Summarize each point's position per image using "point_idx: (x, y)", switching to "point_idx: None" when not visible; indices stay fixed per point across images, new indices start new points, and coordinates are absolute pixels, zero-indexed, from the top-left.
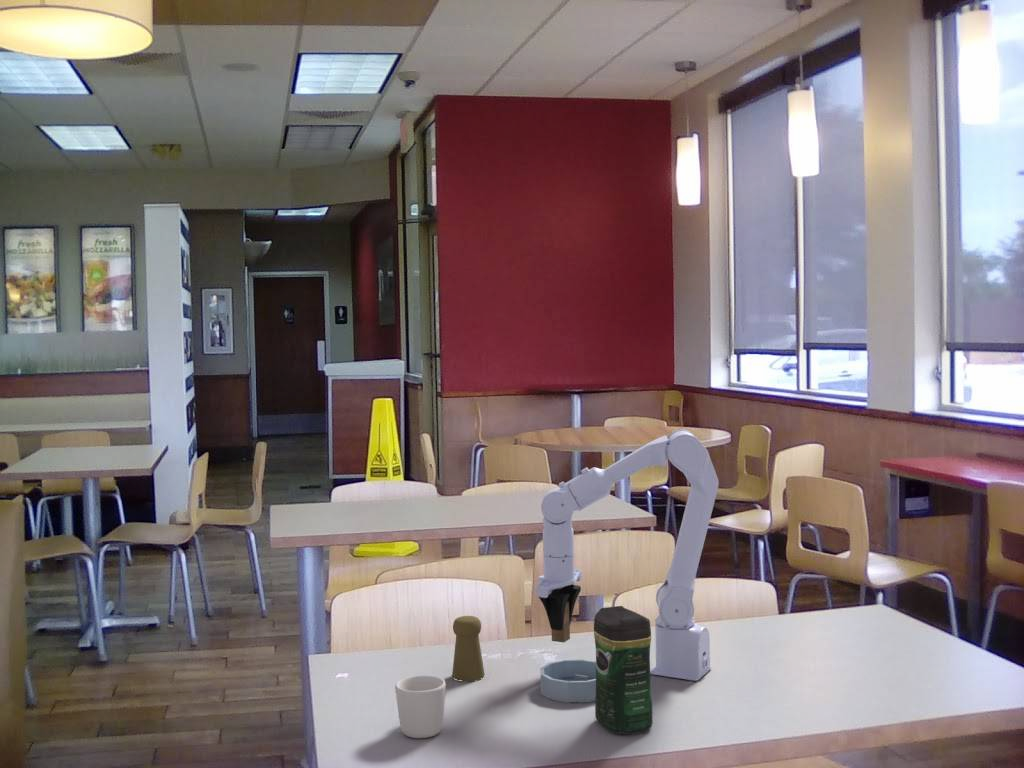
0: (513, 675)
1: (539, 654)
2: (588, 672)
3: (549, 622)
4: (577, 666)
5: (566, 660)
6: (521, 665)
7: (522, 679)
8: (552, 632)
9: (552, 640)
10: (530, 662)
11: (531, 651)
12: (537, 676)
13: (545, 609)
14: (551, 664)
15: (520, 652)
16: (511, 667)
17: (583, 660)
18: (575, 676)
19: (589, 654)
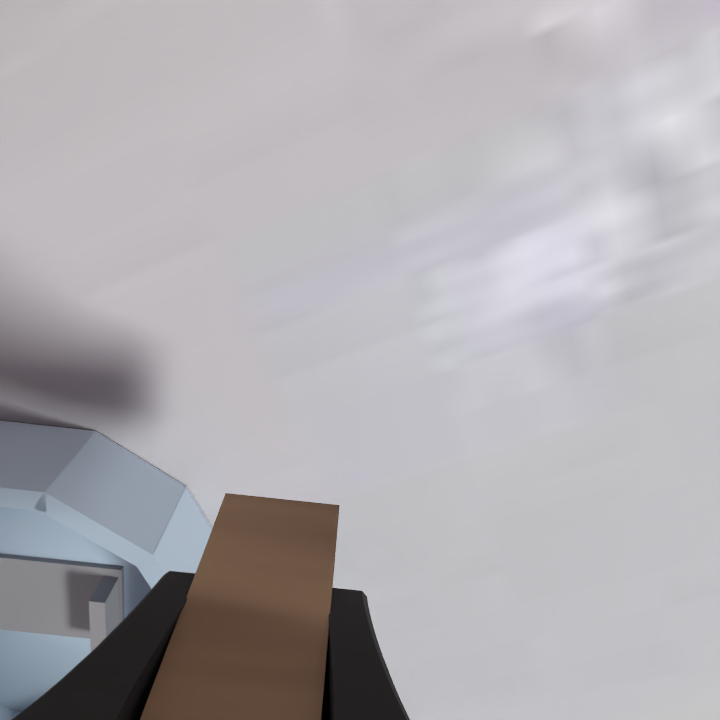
0: (105, 177)
1: (595, 173)
2: None
3: (136, 606)
4: None
5: (145, 570)
6: (318, 144)
7: (65, 265)
8: (209, 544)
9: (225, 501)
10: (401, 181)
11: (655, 83)
12: (158, 331)
13: (22, 711)
14: (39, 508)
15: (613, 4)
16: (251, 90)
17: None
18: (92, 600)
19: (660, 476)
